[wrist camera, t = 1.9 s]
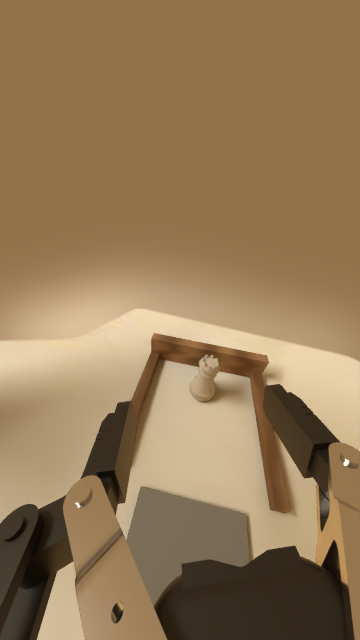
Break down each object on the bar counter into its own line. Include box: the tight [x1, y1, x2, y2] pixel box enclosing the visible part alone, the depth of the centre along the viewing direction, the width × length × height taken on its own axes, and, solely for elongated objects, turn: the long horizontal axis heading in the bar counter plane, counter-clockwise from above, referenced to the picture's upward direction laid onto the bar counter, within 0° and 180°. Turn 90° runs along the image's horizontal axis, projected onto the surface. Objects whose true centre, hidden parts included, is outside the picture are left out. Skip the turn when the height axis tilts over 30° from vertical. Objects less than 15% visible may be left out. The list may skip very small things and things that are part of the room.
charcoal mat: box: [126, 487, 250, 607], centre depth 17 cm, size 12×10×1 cm
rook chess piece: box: [189, 355, 220, 401], centre depth 29 cm, size 4×4×8 cm
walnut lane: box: [131, 333, 290, 513], centre depth 28 cm, size 21×20×5 cm
